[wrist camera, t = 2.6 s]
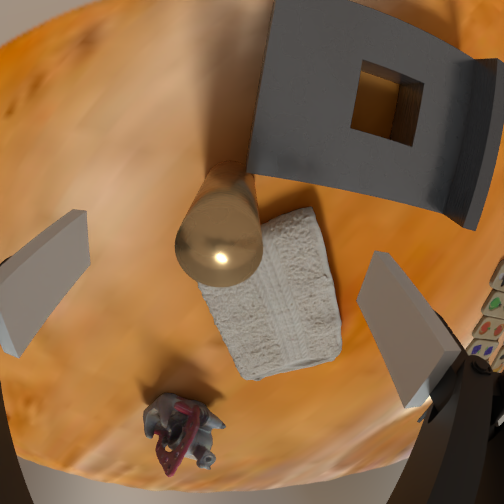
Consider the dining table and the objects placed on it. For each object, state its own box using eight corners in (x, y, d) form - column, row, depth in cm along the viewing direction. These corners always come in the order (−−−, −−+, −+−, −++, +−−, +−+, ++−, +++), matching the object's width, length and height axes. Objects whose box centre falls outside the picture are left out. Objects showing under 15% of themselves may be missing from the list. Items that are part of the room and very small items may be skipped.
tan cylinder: (202, 204, 25) (173, 281, 14) (208, 157, 23) (177, 201, 13) (250, 211, 26) (255, 292, 15) (258, 164, 24) (270, 214, 13)
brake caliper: (151, 383, 32) (196, 475, 25) (215, 374, 40) (258, 447, 34) (118, 416, 36) (153, 490, 29) (176, 406, 44) (210, 469, 38)
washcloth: (245, 370, 35) (245, 390, 32) (181, 240, 27) (174, 256, 24) (342, 344, 33) (349, 363, 31) (310, 199, 26) (318, 211, 23)
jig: (245, 162, 24) (246, 183, 17) (273, 1, 18) (284, -34, 11) (432, 202, 25) (475, 231, 19) (460, 68, 19) (509, 67, 13)
